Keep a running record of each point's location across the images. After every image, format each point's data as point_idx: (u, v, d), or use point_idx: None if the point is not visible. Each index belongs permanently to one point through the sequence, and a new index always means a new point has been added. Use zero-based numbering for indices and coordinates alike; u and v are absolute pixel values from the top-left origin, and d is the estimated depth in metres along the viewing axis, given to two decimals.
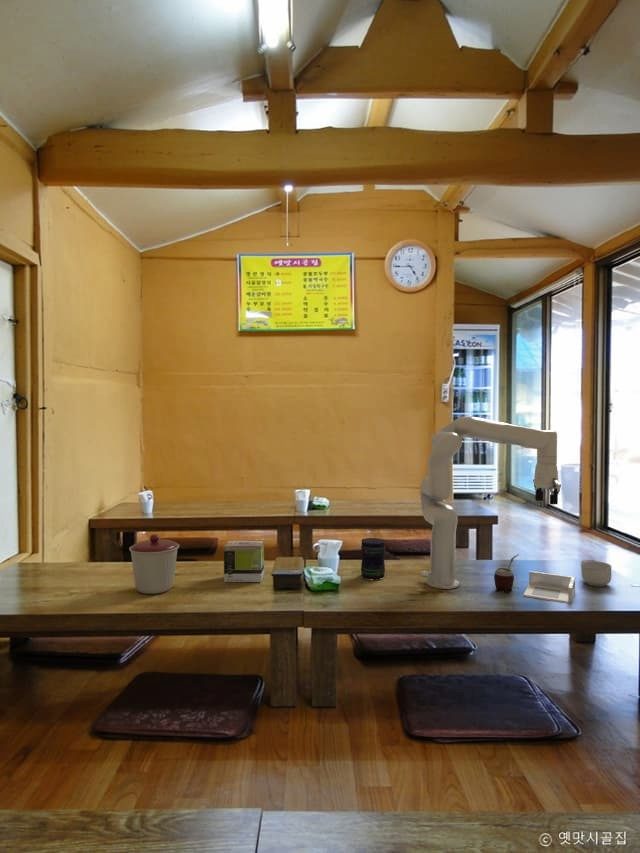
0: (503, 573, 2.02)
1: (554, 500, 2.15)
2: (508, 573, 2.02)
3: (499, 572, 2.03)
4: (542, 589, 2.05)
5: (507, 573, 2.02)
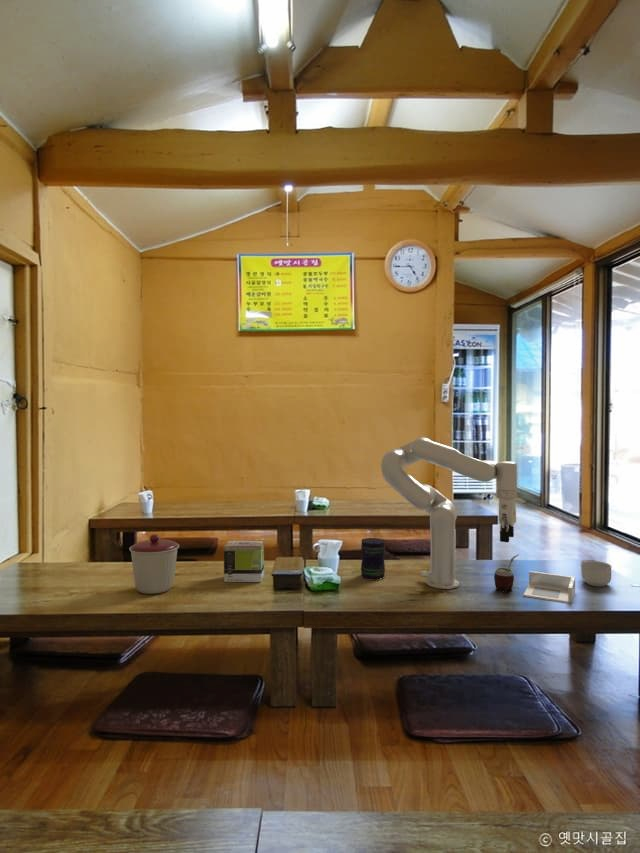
0: (503, 573, 2.02)
1: None
2: (508, 573, 2.02)
3: (499, 572, 2.03)
4: (542, 589, 2.05)
5: (507, 573, 2.02)
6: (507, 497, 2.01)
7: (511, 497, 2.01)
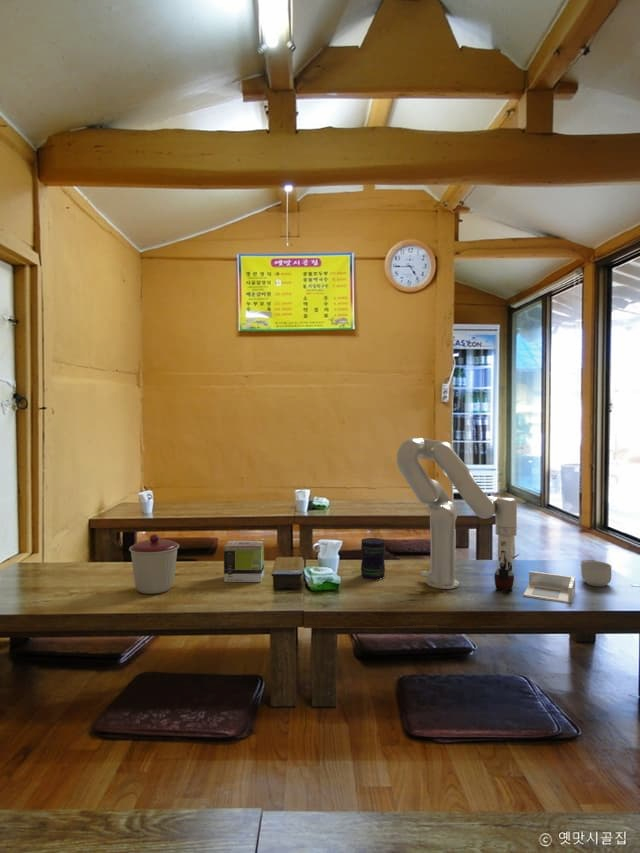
0: None
1: None
2: (508, 573, 2.02)
3: None
4: (542, 589, 2.05)
5: None
6: (506, 534, 2.01)
7: (510, 534, 2.01)
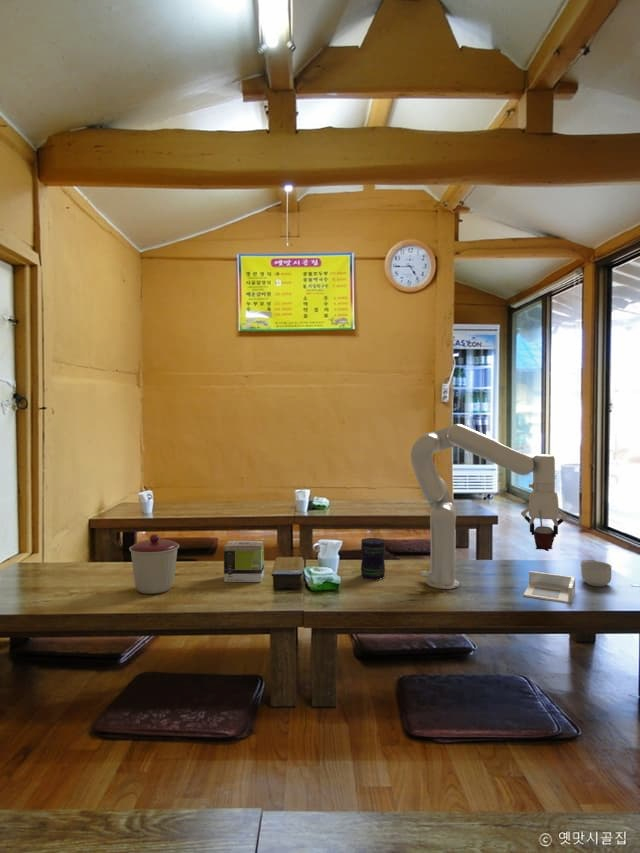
0: None
1: (557, 532, 1.99)
2: (537, 529, 2.01)
3: None
4: (542, 589, 2.05)
5: (537, 529, 2.02)
6: (533, 489, 2.02)
7: (534, 490, 2.01)
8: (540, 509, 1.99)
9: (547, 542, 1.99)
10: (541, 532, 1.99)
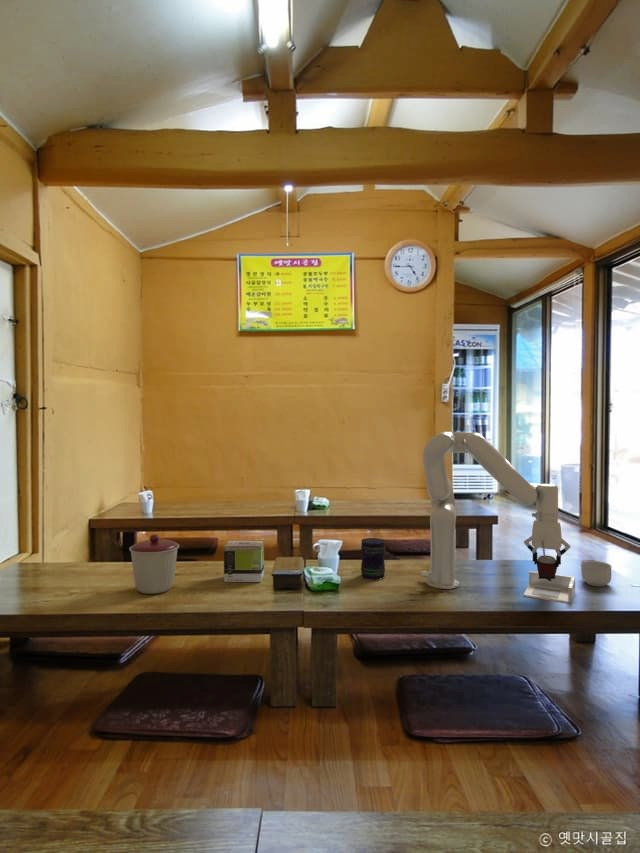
0: (538, 558, 2.03)
1: (560, 562, 1.99)
2: (540, 559, 2.01)
3: None
4: (542, 589, 2.05)
5: (539, 558, 2.02)
6: (536, 518, 2.02)
7: (537, 519, 2.01)
8: (543, 539, 1.99)
9: (550, 572, 1.99)
10: (544, 562, 1.99)
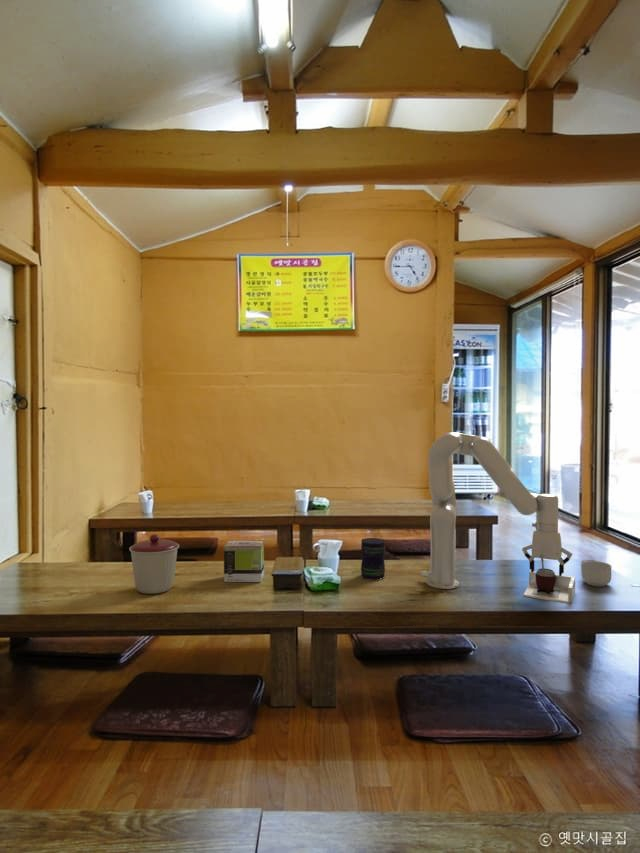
0: (537, 571, 2.03)
1: (563, 571, 1.98)
2: (539, 572, 2.01)
3: None
4: None
5: (538, 571, 2.02)
6: (536, 528, 2.02)
7: (537, 529, 2.01)
8: (543, 549, 1.99)
9: (548, 585, 1.99)
10: (542, 575, 2.00)
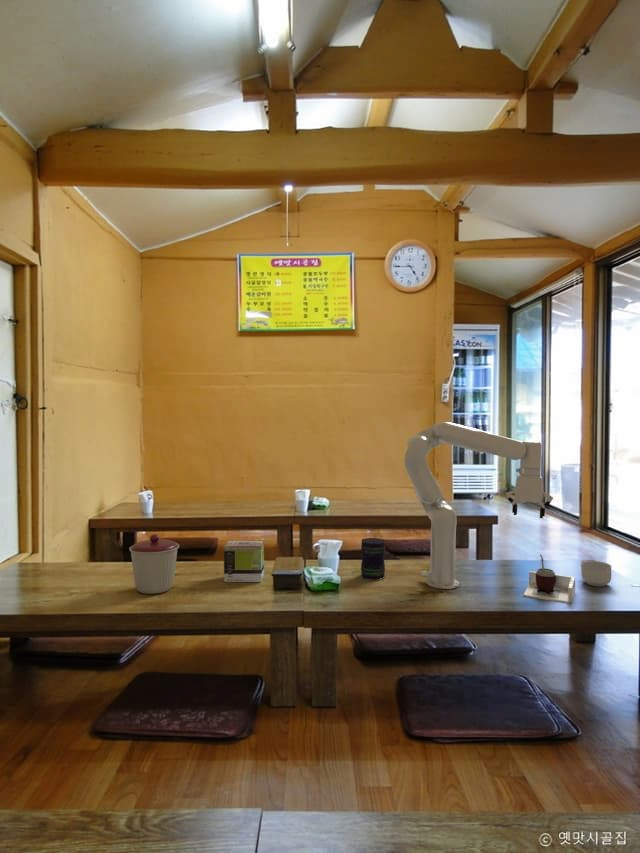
0: (537, 571, 2.03)
1: (544, 514, 2.07)
2: (539, 572, 2.01)
3: None
4: None
5: (538, 571, 2.02)
6: (519, 473, 2.11)
7: (520, 474, 2.10)
8: (525, 492, 2.08)
9: (548, 585, 1.99)
10: (542, 575, 2.00)
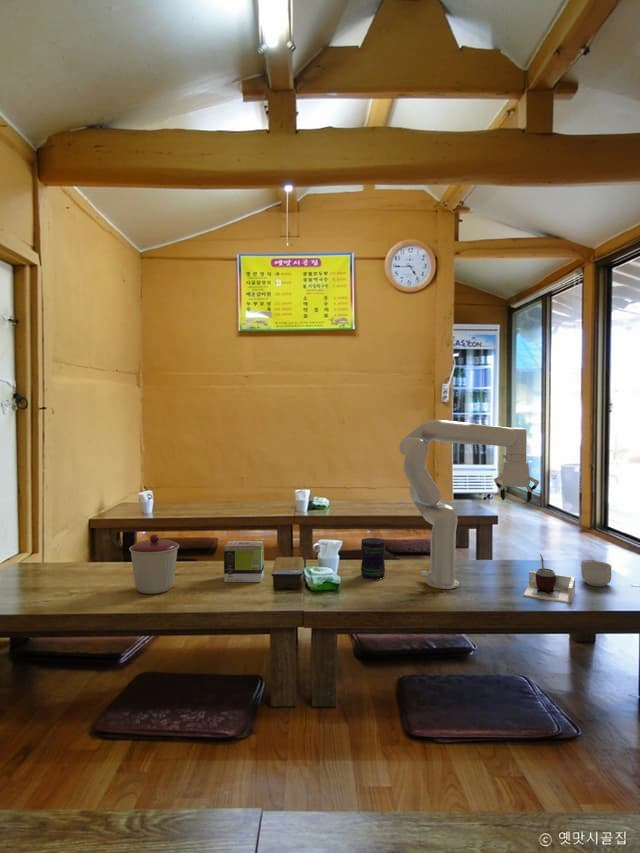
0: (537, 571, 2.03)
1: (531, 497, 2.15)
2: (539, 572, 2.01)
3: None
4: None
5: (538, 571, 2.02)
6: (506, 459, 2.19)
7: (507, 460, 2.17)
8: (512, 478, 2.16)
9: (548, 585, 1.99)
10: (542, 575, 2.00)
